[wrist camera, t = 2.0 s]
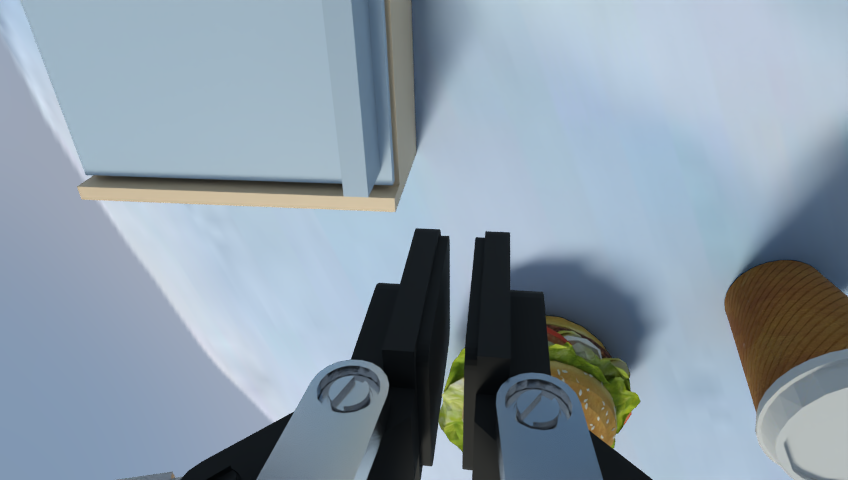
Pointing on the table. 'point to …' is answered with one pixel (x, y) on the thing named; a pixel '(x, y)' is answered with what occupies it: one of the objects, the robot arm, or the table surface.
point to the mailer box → (297, 192)
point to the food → (574, 365)
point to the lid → (223, 88)
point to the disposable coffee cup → (795, 365)
